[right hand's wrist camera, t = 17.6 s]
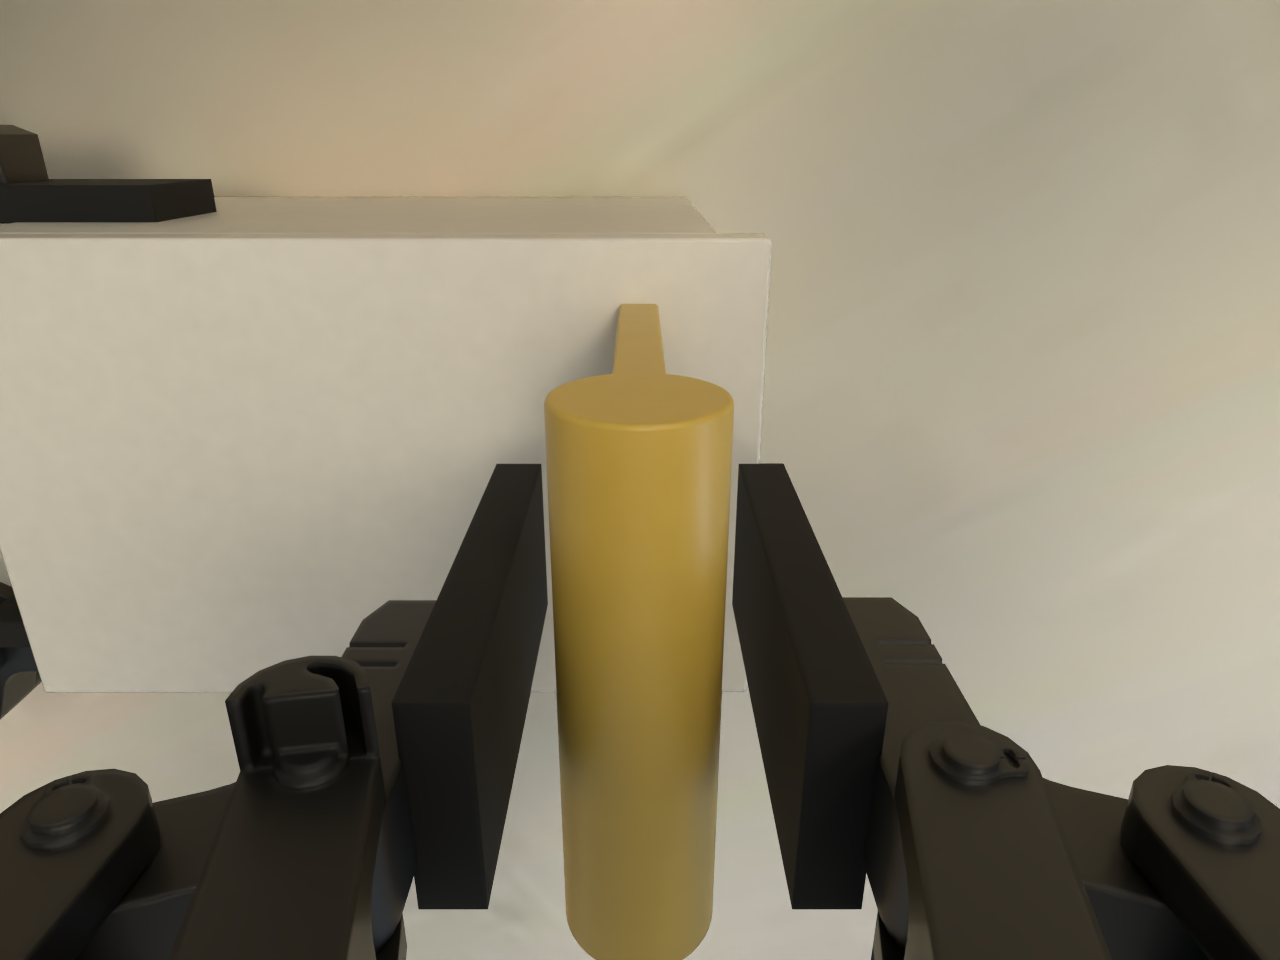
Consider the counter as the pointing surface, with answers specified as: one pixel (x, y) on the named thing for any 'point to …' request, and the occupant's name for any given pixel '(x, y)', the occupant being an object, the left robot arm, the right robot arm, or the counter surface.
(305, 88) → the counter surface
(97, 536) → the lid
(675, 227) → the chest
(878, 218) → the counter surface
